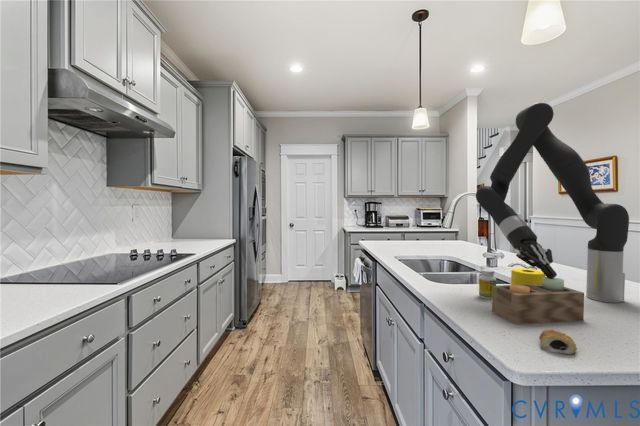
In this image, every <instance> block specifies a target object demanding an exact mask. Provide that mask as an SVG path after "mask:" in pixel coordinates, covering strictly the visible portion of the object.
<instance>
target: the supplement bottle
mask: <svg viewBox="0 0 640 426" xmlns="http://www.w3.org/2000/svg"><path fill="white" fill-rule="evenodd" d="M494 275H495V270H493V269H488V268H487V269H486V268H485V269H484V268H483V269H481V275H480V276H479V277H478V285H479V286H478V296H479V297H480V298H481V299H486V300H492V286H497V277H496V276H494Z"/></svg>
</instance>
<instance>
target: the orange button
mask: <svg viewBox="0 0 640 426" xmlns="http://www.w3.org/2000/svg"><path fill="white" fill-rule="evenodd" d="M509 285H510V290H511V291H514V292H517V293H530V287H528V286H524V285H516V284H513V285H511V284H509Z"/></svg>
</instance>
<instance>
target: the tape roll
mask: <svg viewBox="0 0 640 426" xmlns="http://www.w3.org/2000/svg"><path fill="white" fill-rule="evenodd" d="M543 277H546V276H545V274H544V273H543V272H542V271H541V269H536V268H535V269H534V268H523V267H515V268H511V276H510V279H511V280H510V285H513V284H516V285H532V284H543Z"/></svg>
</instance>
